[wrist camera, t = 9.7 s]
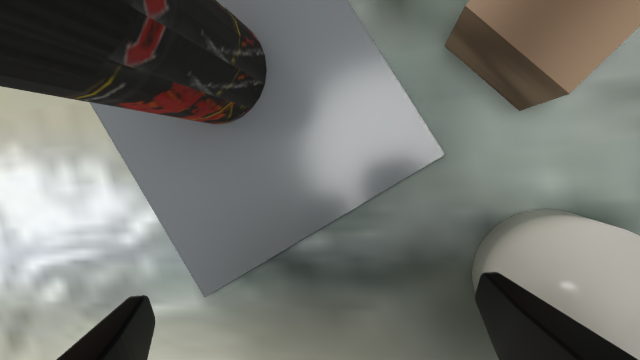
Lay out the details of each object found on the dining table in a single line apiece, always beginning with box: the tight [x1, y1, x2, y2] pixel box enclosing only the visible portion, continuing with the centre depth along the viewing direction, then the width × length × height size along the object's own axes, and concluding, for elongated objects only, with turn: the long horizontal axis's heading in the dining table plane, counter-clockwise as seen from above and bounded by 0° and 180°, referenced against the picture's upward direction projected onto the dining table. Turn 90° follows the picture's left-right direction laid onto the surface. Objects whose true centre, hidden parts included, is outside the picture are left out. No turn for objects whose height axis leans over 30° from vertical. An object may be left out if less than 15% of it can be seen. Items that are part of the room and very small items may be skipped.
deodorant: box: [0, 0, 267, 125], centre depth 12 cm, size 6×6×15 cm
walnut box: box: [445, 0, 640, 111], centre depth 15 cm, size 5×5×5 cm
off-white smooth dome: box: [472, 209, 640, 360], centre depth 16 cm, size 7×7×4 cm
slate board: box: [90, 0, 445, 297], centre depth 20 cm, size 16×16×1 cm
